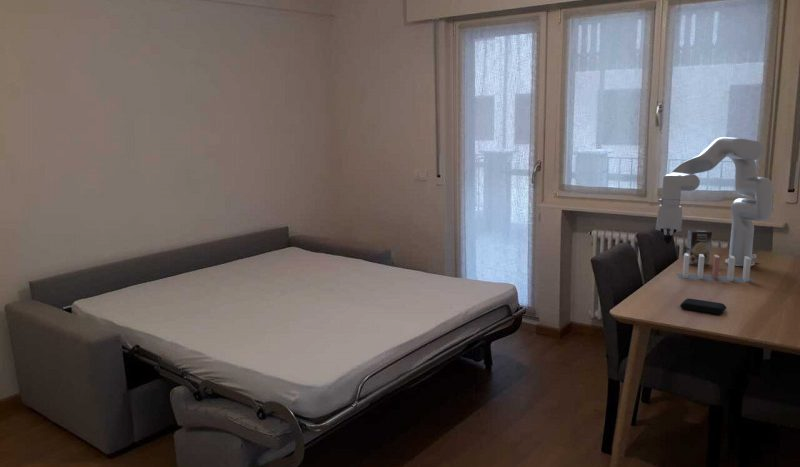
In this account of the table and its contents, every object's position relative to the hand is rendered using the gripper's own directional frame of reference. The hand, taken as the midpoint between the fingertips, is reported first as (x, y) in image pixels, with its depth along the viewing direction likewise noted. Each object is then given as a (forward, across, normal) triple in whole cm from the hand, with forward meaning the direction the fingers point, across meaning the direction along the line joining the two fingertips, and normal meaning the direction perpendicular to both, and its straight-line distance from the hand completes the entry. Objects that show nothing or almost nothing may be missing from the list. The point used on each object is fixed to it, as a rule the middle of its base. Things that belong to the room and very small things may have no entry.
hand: (667, 243), depth 275 cm
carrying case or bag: (+16, +10, -46) cm, 50 cm away
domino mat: (+15, +21, 0) cm, 25 cm away
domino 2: (+14, +15, 0) cm, 21 cm away
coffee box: (+15, +17, +30) cm, 37 cm away
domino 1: (+15, +9, 0) cm, 17 cm away
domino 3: (+14, +27, 0) cm, 30 cm away
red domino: (+14, +20, 0) cm, 25 cm away
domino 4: (+14, +33, 0) cm, 36 cm away
